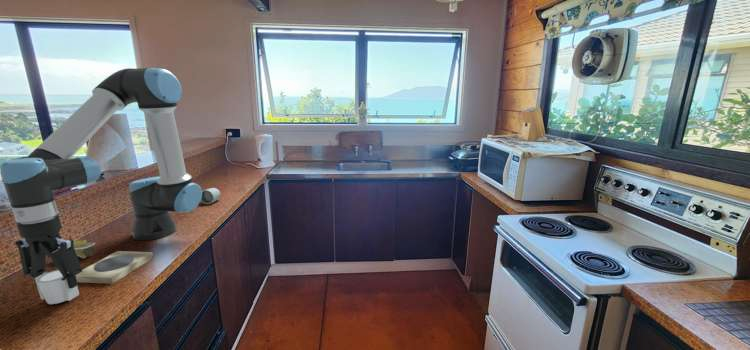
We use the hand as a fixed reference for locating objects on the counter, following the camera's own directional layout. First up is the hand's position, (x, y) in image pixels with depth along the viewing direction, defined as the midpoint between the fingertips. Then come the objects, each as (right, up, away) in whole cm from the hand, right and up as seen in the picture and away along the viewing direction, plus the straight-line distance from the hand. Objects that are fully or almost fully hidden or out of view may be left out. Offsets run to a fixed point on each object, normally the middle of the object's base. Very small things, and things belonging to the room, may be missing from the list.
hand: (60, 296), depth 85 cm
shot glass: (0, 0, 0) cm, 1 cm away
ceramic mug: (-4, +19, +83) cm, 85 cm away
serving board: (+2, +3, +16) cm, 17 cm away
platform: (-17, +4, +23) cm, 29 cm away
